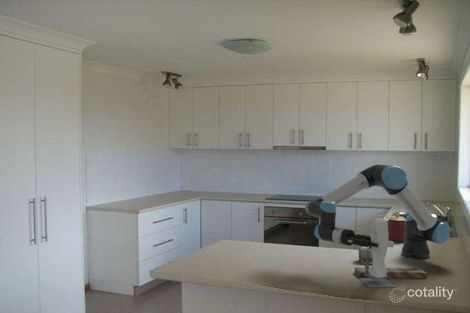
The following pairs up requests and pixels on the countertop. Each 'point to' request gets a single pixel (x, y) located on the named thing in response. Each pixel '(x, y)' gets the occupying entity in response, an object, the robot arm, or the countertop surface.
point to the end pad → (376, 282)
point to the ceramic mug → (365, 255)
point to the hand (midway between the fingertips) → (389, 245)
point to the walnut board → (396, 272)
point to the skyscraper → (378, 254)
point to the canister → (396, 228)
